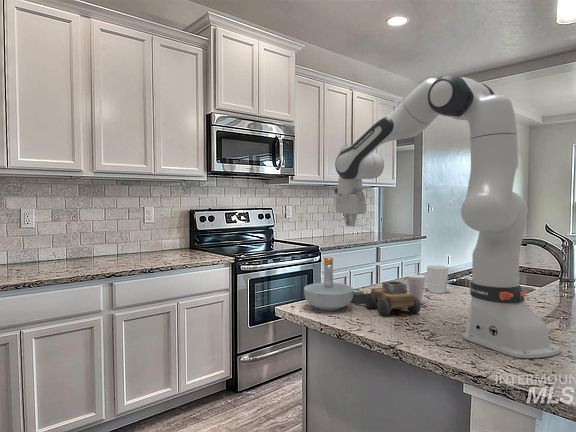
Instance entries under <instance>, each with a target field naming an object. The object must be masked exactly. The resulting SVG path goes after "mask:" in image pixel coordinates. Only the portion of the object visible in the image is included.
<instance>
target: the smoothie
mask: <svg viewBox="0 0 576 432" xmlns="http://www.w3.org/2000/svg"><path fill="white" fill-rule="evenodd" d="M417 266H418V265H417V263H414V274H407V275H406V279H407V287H408V292H409V293H408V294H410V295H413V296H414V297H417V298H418V299H419V301H420V305H421V304H422V302H423V294H424V286H425V280H426V275H422V274H417V273H418V272H417V269H418V267H417Z"/></svg>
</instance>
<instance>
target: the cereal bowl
mask: <svg viewBox="0 0 576 432" xmlns="http://www.w3.org/2000/svg"><path fill="white" fill-rule="evenodd" d="M353 292H354V288H353V287H352V285H349V284H345V283H341V282H340V283H338V282H333V288H324V282H317V283H316V282H315V283H311V284H307V285H306V286H304V288H303V294H304V298H305V300H306V302H307V303H308V304H309V305H311V306H313V307H315V308H317V309H318V310H321V311H326V312H331V311H338V310H340V309H341V308H343V307H346V306H348V305H349V304H350V303H351V300H352V298H353Z"/></svg>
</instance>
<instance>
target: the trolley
mask: <svg viewBox="0 0 576 432" xmlns="http://www.w3.org/2000/svg"><path fill="white" fill-rule="evenodd" d="M381 284H382V287H376V288H374V287H373V288H371V289H370V290H371V291H370V292H368V293H367V292H366V293H365V294H366V296H365V303H366V304H365V306H366V307H367V309H376V308H377V311H378V313H379V315H380V316H389V315H390V314H391V312H392V310H394V309H407V310H408V312H409V313H411V314H414V313H419V312H420V311H421V307H422V306H421V304H420V301H419V299H418V298H417V297H414V296H413V295H410V294H409V293H408V283H406V282H405V283H404V282H402V281H399V280H391V281H382V283H381Z"/></svg>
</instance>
